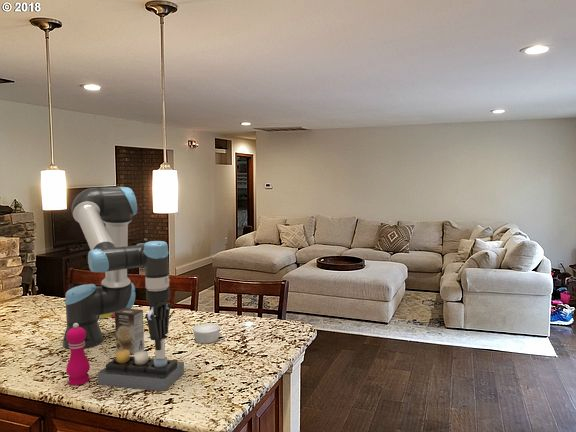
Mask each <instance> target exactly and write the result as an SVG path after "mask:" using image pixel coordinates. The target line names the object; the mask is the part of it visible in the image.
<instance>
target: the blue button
mask: <svg viewBox="0 0 576 432" xmlns="http://www.w3.org/2000/svg"><path fill="white" fill-rule="evenodd" d="M167 360H168V356H165V358H164V359H156V357H154V367H159V368H164V367H166V366H167Z"/></svg>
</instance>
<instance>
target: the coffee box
mask: <svg viewBox="0 0 576 432" xmlns="http://www.w3.org/2000/svg"><path fill="white" fill-rule="evenodd" d="M114 326H115V328H114V329H115V348H116V349H115V353H116V352H117V351H119V350H123V349H127V350H129V352H130V355H134V354H135V353H136V352H139V351H144V349H145V334H144V333H145V332H144V329H145V328H144V309H138V308H132V307H131V308H123V309H121V310H118V311H116V312H115V317H114Z"/></svg>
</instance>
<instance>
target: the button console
mask: <svg viewBox="0 0 576 432" xmlns="http://www.w3.org/2000/svg"><path fill="white" fill-rule="evenodd" d="M154 358H155V357H154ZM154 358H153V357H148V363H146V364H145V366H138V365H137V364H135V357H134V356H130V360H129V361H128V362H127V364H126V365H125V364H119V363H117V362H116V357H115V358H114V359H112V360H111V361H109V362H107V363H106V364H105V367H104V368H103V369H101V370H99V371H98V372H97V385H98V386H99V385H100V386H108V387H119V388H128V389H138V390H148V391H149V390H150V391H155V392H156V391H157V392H159V391H160V392H166V391H167V390H168V389H169V388H170V387H171V386H172V385H173V384H174V383H176V382H177V380H178V379H180V378H181V377H182V376H183V375H184V374H185V362H184V361H181V360H175V359H167V366H166V367H164V368H159V367H154Z"/></svg>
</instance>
